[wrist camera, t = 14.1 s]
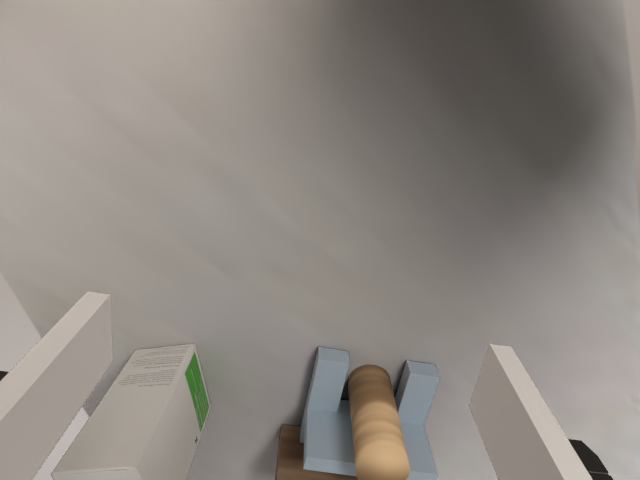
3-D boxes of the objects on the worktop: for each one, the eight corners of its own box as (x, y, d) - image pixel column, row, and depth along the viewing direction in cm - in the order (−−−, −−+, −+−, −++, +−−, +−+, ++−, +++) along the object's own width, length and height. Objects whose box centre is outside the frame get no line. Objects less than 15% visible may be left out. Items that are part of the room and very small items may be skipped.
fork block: (318, 346, 46) (318, 402, 39) (435, 364, 47) (457, 423, 40) (300, 427, 50) (297, 493, 43) (408, 443, 51) (424, 510, 43)
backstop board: (282, 423, 50) (276, 479, 44) (426, 444, 51) (442, 501, 45) (279, 438, 51) (273, 494, 44) (421, 458, 52) (436, 515, 45)
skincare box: (212, 406, 49) (168, 553, 35) (150, 412, 49) (82, 561, 35) (195, 339, 46) (139, 469, 32) (129, 346, 46) (44, 478, 32)
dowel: (352, 361, 47) (362, 446, 37) (395, 368, 47) (416, 454, 37) (343, 396, 49) (350, 486, 38) (384, 402, 49) (402, 494, 39)
